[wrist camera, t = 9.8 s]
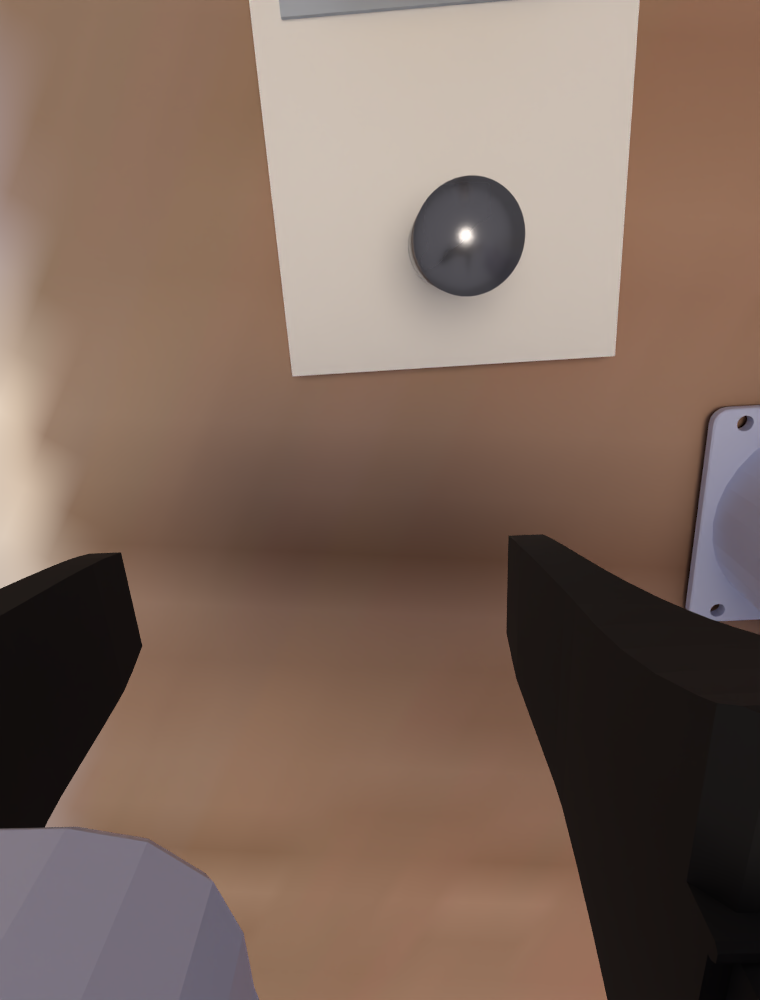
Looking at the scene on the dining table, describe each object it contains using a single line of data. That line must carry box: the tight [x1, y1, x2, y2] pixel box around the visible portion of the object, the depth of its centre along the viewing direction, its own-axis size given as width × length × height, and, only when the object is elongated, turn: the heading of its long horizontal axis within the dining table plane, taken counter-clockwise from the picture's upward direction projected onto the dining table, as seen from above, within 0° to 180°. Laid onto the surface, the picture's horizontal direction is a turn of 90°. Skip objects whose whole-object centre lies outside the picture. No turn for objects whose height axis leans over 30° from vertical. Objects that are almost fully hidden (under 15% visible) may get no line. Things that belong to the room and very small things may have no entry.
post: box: [408, 175, 525, 296], centre depth 16 cm, size 2×2×6 cm
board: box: [249, 0, 639, 376], centre depth 16 cm, size 10×17×1 cm, turn 4°
